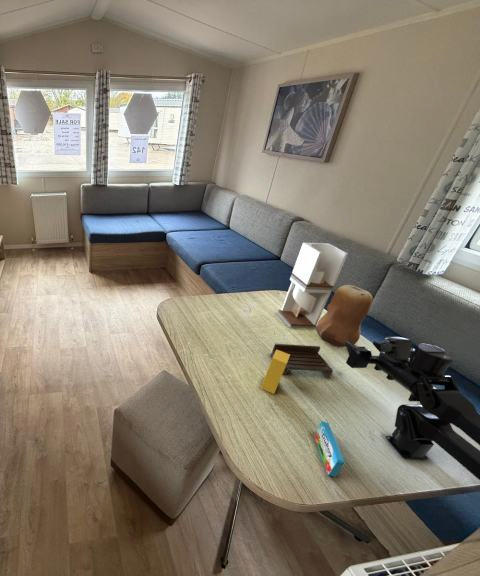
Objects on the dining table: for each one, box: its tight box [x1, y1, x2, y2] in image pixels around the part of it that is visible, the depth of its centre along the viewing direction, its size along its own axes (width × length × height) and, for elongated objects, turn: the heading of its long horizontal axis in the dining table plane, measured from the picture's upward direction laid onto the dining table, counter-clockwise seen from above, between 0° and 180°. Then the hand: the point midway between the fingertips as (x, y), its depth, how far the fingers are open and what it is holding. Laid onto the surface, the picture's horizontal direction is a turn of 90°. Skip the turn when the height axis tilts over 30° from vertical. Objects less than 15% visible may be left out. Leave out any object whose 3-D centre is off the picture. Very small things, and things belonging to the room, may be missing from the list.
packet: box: [260, 350, 290, 395], centre depth 100 cm, size 4×6×13 cm
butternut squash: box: [314, 284, 373, 348], centre depth 119 cm, size 14×13×25 cm
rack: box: [270, 343, 334, 379], centre depth 111 cm, size 10×16×6 cm, turn 86°
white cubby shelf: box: [277, 242, 349, 330], centre depth 130 cm, size 11×11×35 cm
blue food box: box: [313, 420, 345, 478], centre depth 80 cm, size 12×2×6 cm, turn 163°
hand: (359, 342), depth 99 cm, fingers open, 9 cm apart
